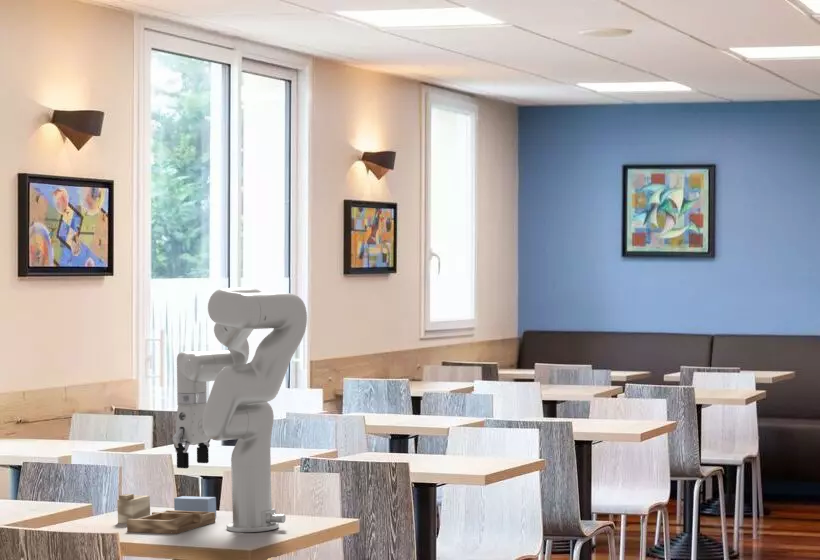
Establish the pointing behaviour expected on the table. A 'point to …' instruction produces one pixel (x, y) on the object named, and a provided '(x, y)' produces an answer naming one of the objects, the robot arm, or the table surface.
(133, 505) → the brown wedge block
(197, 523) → the tray
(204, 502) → the bar
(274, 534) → the table surface
